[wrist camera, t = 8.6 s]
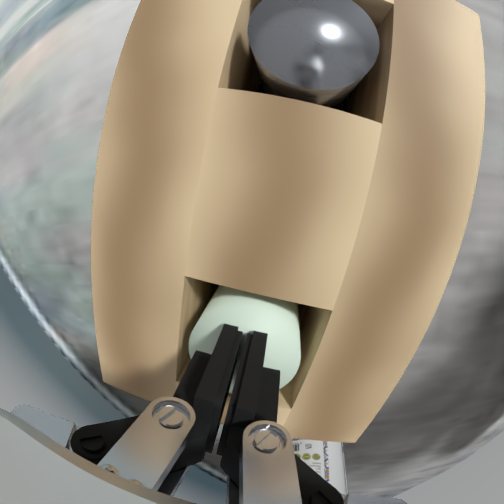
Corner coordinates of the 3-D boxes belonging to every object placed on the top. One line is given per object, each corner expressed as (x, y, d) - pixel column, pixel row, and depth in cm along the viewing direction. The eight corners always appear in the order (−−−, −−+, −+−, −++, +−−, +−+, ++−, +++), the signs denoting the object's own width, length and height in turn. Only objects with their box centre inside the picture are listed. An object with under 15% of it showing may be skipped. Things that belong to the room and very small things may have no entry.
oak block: (416, 61, 13) (478, 14, 5) (339, 358, 19) (354, 442, 12) (210, 16, 13) (167, -51, 6) (158, 315, 20) (103, 381, 12)
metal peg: (346, 67, 13) (382, 5, 6) (334, 133, 14) (372, 103, 7) (273, 51, 13) (261, -21, 6) (258, 116, 15) (234, 73, 7)
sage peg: (305, 258, 17) (315, 323, 9) (287, 320, 18) (283, 404, 11) (233, 241, 17) (194, 294, 10) (221, 305, 18) (185, 380, 11)
